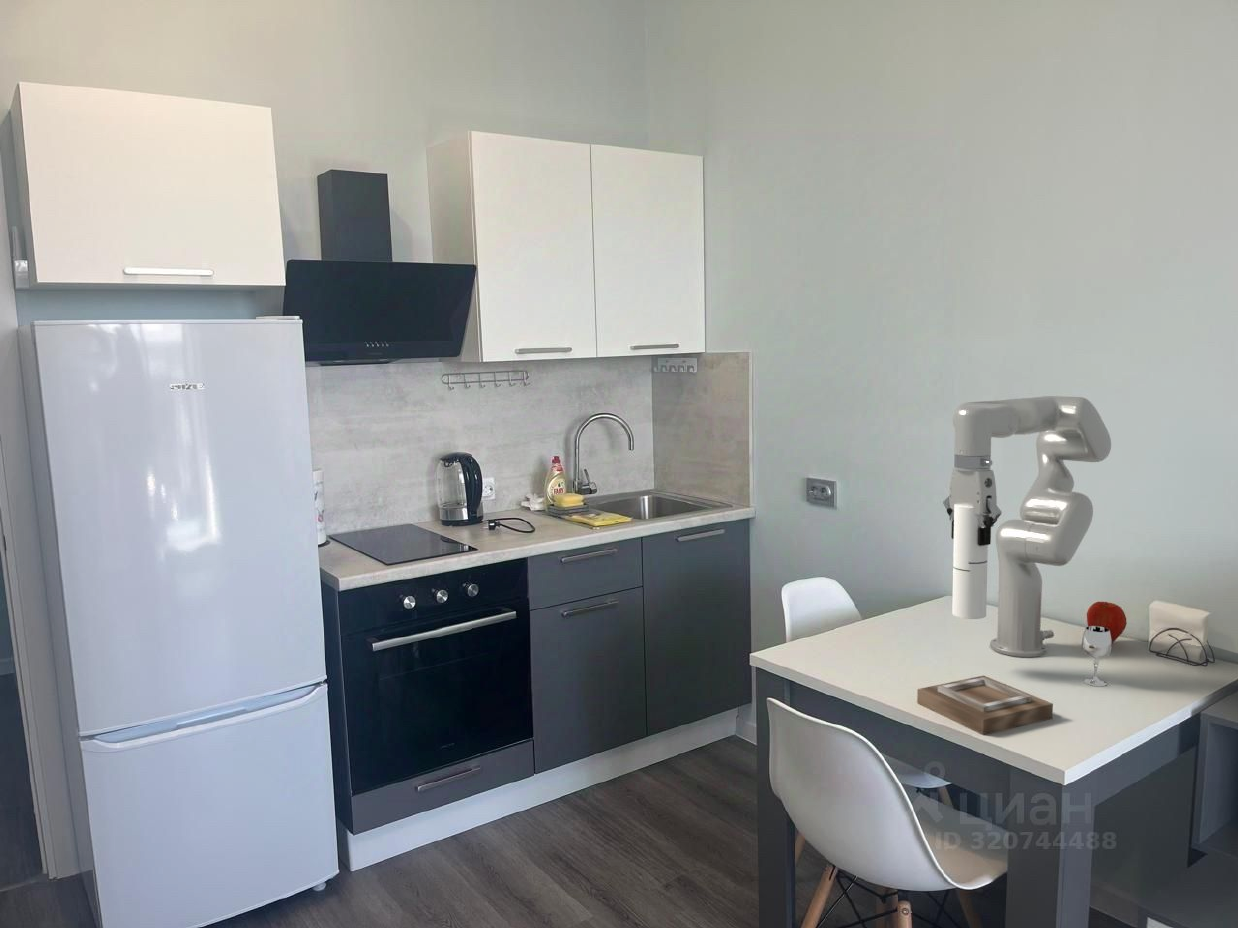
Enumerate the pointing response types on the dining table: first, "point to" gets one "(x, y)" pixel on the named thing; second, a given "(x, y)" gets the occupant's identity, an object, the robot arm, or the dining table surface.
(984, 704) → the walnut base
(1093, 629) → the wineglass
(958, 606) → the cylindrical container
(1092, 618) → the apple
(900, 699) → the dining table surface
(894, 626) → the dining table surface
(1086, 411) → the robot arm
